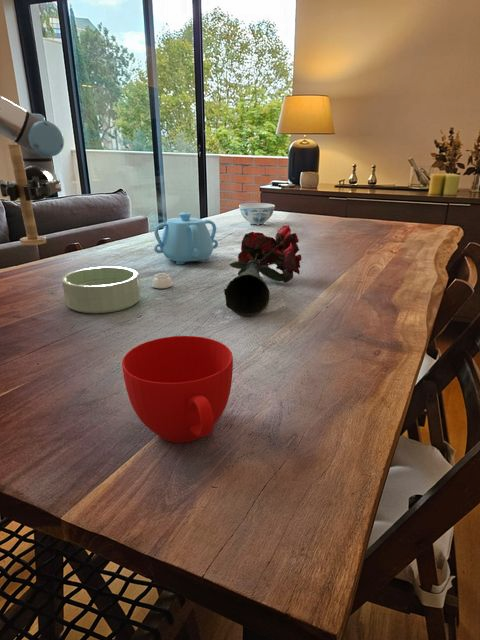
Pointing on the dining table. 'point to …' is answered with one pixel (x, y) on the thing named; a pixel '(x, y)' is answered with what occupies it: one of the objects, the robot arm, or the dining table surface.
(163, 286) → the white jar
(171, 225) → the decorative pot
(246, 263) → the red rose bouquet
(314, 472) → the dining table surface
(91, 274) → the bowl
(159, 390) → the ceramic cup
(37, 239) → the stirrer
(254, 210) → the chinaware
